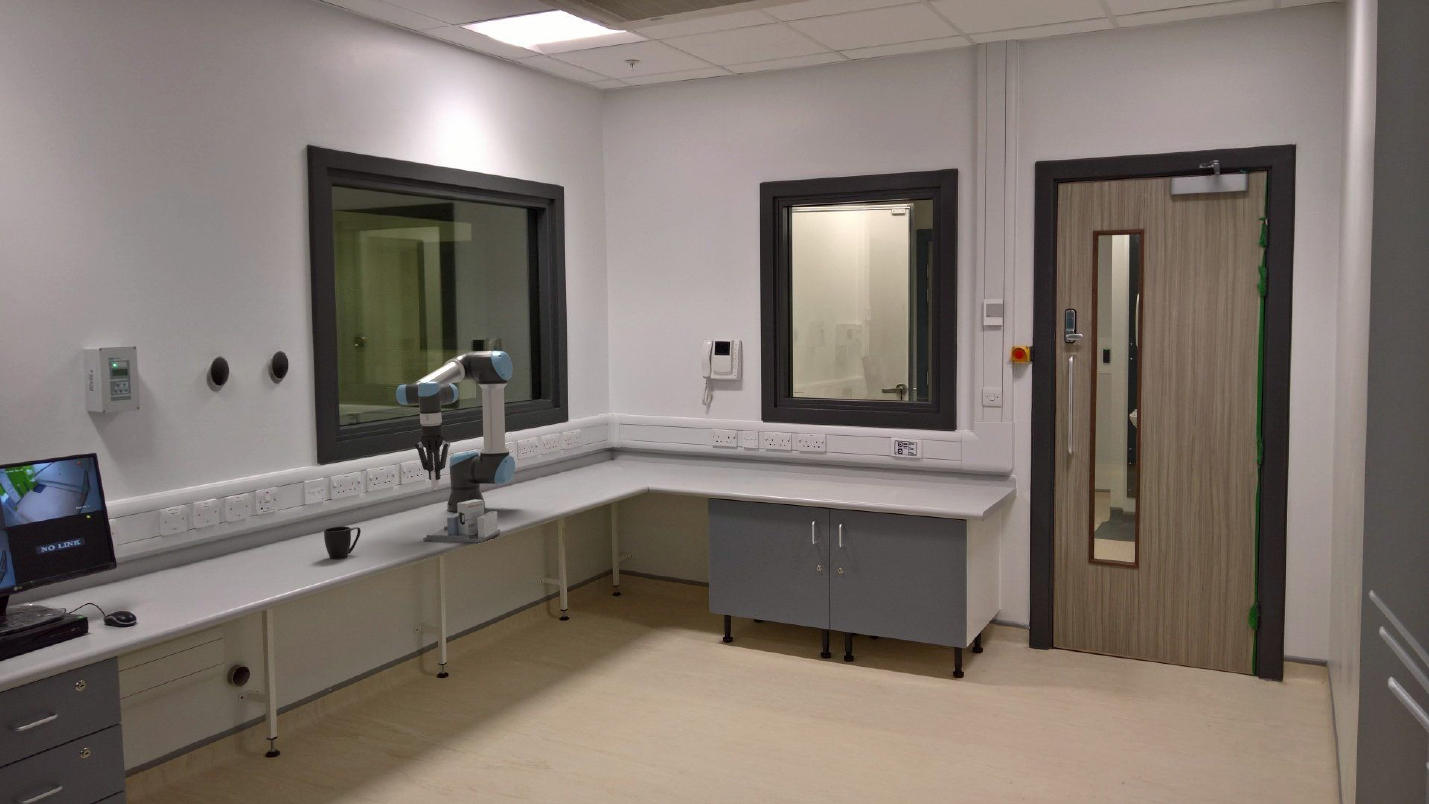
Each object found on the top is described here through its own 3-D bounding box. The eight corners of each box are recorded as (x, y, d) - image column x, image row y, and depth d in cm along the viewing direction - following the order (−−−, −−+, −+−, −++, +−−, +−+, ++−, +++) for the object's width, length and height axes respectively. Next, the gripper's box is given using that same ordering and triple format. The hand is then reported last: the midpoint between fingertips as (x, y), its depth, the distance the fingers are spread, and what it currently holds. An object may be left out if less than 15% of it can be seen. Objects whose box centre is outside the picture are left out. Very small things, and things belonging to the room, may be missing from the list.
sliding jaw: (462, 529, 365) (461, 511, 364) (468, 529, 364) (467, 511, 364) (447, 536, 353) (447, 517, 352) (454, 536, 352) (453, 517, 352)
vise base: (443, 531, 368) (442, 509, 367) (500, 532, 364) (499, 510, 364) (423, 541, 352) (422, 518, 352) (482, 542, 349) (481, 519, 348)
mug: (367, 554, 334) (365, 526, 333) (332, 561, 325) (330, 532, 325) (355, 551, 340) (354, 523, 339) (321, 557, 331) (319, 529, 330)
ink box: (476, 530, 363) (475, 498, 362) (485, 532, 360) (484, 499, 359) (458, 535, 356) (456, 502, 355) (467, 536, 353) (465, 503, 352)
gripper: (409, 426, 359) (413, 490, 361) (443, 425, 357) (447, 490, 359) (419, 423, 366) (423, 486, 369) (452, 422, 364) (456, 486, 367)
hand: (435, 488), depth 364 cm, fingers closed
